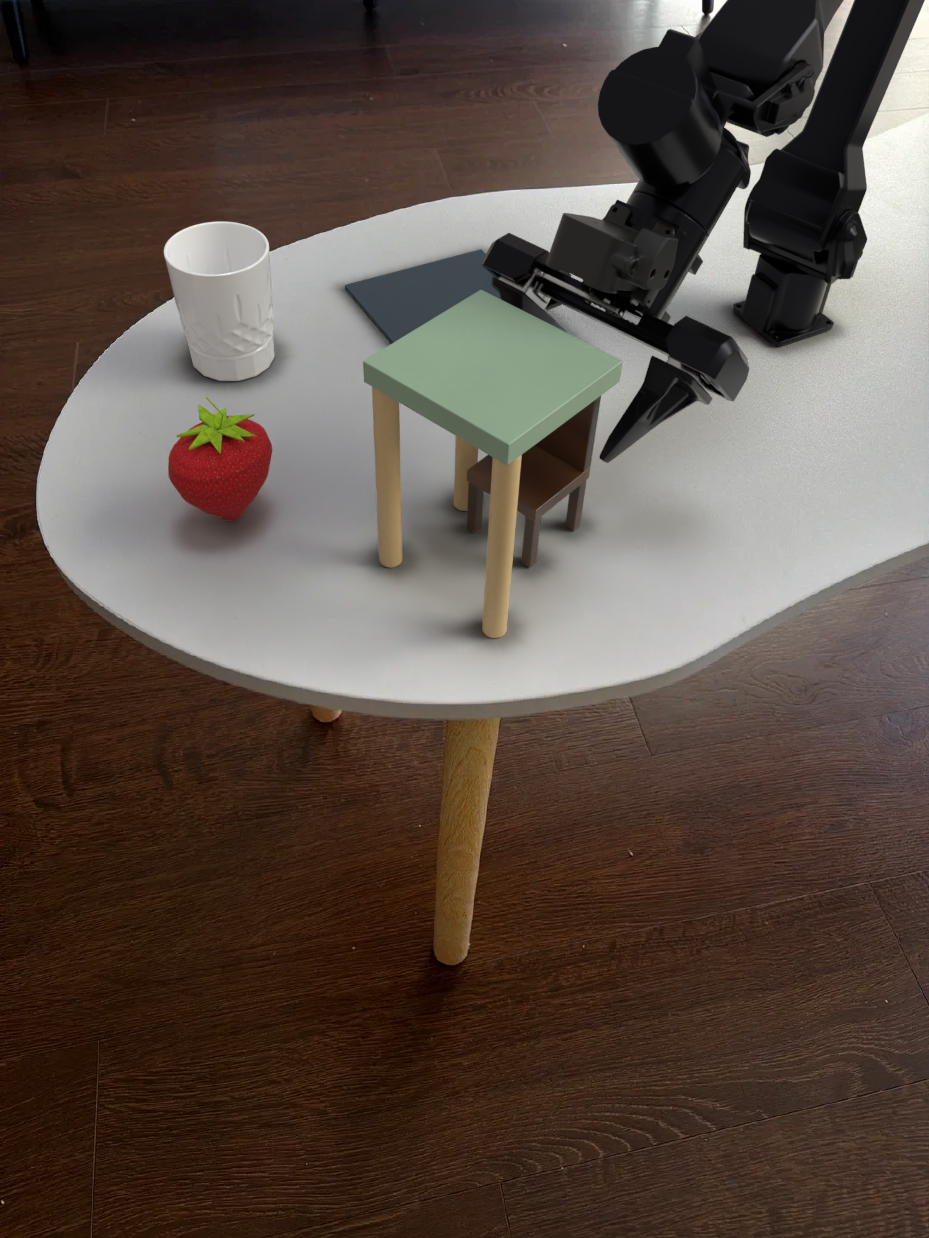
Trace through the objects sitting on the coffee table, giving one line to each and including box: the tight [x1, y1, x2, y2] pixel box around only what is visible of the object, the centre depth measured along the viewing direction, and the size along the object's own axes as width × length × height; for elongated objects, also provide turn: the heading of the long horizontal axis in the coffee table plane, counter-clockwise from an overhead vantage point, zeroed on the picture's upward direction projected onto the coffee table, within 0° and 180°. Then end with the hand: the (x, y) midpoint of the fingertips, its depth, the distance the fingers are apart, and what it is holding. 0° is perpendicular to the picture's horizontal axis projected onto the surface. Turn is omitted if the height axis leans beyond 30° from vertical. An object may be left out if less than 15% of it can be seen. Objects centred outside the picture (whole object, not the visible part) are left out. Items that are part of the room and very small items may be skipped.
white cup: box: [163, 221, 275, 382], centre depth 87 cm, size 8×8×10 cm
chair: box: [466, 395, 602, 568], centre depth 74 cm, size 6×6×12 cm
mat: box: [344, 248, 568, 344], centre depth 95 cm, size 14×18×1 cm
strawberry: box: [167, 395, 273, 522], centre depth 74 cm, size 6×8×10 cm
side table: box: [362, 290, 624, 639], centre depth 70 cm, size 10×11×16 cm
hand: (548, 430), depth 73 cm, fingers open, 9 cm apart
